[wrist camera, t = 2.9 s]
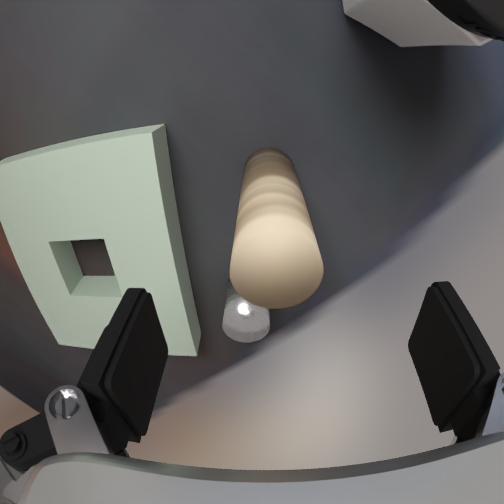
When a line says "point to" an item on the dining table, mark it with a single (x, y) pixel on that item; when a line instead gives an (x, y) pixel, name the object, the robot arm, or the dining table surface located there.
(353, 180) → the dining table surface
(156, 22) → the dining table surface
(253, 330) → the steel pin
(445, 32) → the jar
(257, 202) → the birch pin
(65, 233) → the hole board
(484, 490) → the robot arm
